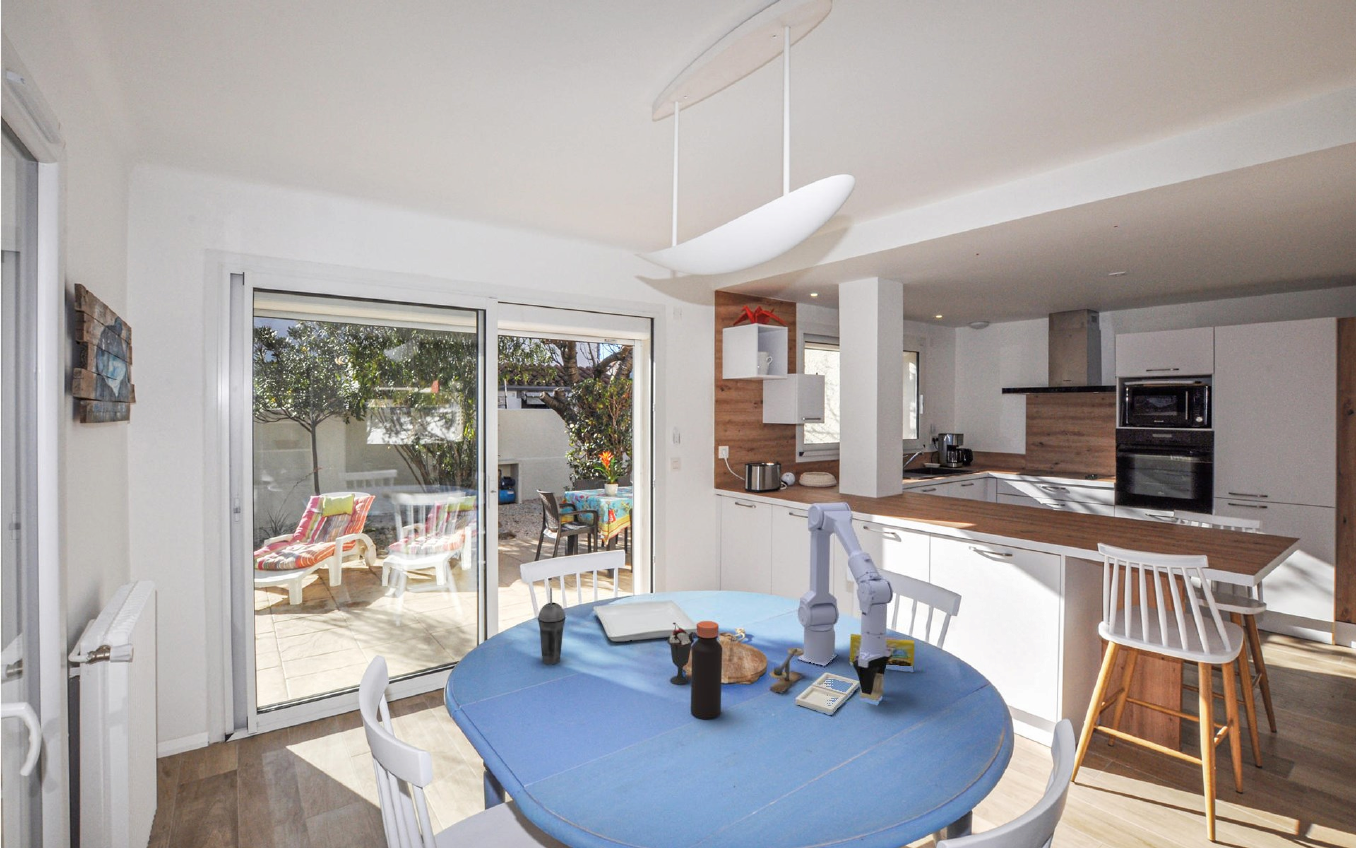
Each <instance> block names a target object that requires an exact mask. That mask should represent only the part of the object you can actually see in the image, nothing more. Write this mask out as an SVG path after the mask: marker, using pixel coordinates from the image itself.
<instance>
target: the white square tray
mask: <svg viewBox="0 0 1356 848" xmlns="http://www.w3.org/2000/svg"><path fill="white" fill-rule="evenodd" d="M826 679H836V680H839V681H845V682H847V683H853V685H852V686H851V687H850V688H849V689H848V690H847V691H846V692H842V691H839V690H835V689H832V688H831V687H826V686H831V684H830V685H829V684H827V685H826V684H824V683H831V682H826V681H831V680H826ZM824 681H825V682H824ZM832 681H833V680H832ZM822 683H823V684H822ZM832 683H833V682H832ZM859 684H860V681H859V680H857V679H856V680H855V679H852V678H849V677H844V676H841V675H838V674H833V673H830V672H824V673H823V674H822V675H821V676H820V677H818V678H817V679H816V680H815V681H814V682H813V683H811V686H815V687H818V688H822V689H825V690H829V691H832V692H836V693H839V694H843V695H846V698H847V697H848V695H850V693H852V691H854V689H855V688H856V687H857V686H858V685H859ZM832 686H833V685H832Z"/></svg>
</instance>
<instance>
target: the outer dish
mask: <svg viewBox="0 0 1356 848" xmlns="http://www.w3.org/2000/svg"><path fill="white" fill-rule="evenodd" d="M827 695H828V696H827ZM831 698H838V699H837V700H836V699H835V700H836V701H835V702H832V701H829V700H834V699H831ZM845 699H846V695H843V694H839V693H836V692H832V691H829V690H825V689H822V688H818V687H815V686H812V685H809V686H808V687H807V688H806V689H805V690H803V692H801V693H800V694H799V695H798V696H796V698H795V700H794V705H795V704H796V705H795V706H797V705H801V706H805V707H809V708H812V709H815V710H820V711H824V712H830V713H831V714H832V712H834V710H836V708H837V707H838V706H839V705H840V704H841V703H842V702H843V701H844V700H845ZM827 700H828V701H827ZM827 703H828V704H827ZM829 703H830V704H829ZM832 703H833V704H832ZM828 705H831V706H828Z"/></svg>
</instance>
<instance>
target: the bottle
mask: <svg viewBox="0 0 1356 848" xmlns="http://www.w3.org/2000/svg"><path fill="white" fill-rule="evenodd" d="M696 625H697V630H696V631H695V632H696V638H697V640H696V641H694V643H692V645H691V675H690V676H691V677H690V678H691V680H690V681H691V683H690V686H691V687H690V712H691V714H692V716H693V717H696V718H698V719H700V720H701V719H702V720H712V719H716V718H717V717H719V716H720V714H721V711H722V677H723V676H722V673H723V672H722V670H723V667H722V665H723V646H722V645H721V644H720V642H719V641H718V637H719V626H720V625H719V624H718V623H717V622H715V621H712V620H711V621H710V620H703V621H699V622H697V623H696Z"/></svg>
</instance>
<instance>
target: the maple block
mask: <svg viewBox="0 0 1356 848" xmlns="http://www.w3.org/2000/svg"><path fill="white" fill-rule="evenodd" d="M883 693H884V677H883V674H879V673H876V676H875V679H874V685H873V690H872V693H871V695H869V694H865V693H862V691H861V690H860V695H859V698H860V697H861V698H868V699H871V700H876V701H878V700H879V698H880V697H881V696H882V695H884V694H883Z"/></svg>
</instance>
